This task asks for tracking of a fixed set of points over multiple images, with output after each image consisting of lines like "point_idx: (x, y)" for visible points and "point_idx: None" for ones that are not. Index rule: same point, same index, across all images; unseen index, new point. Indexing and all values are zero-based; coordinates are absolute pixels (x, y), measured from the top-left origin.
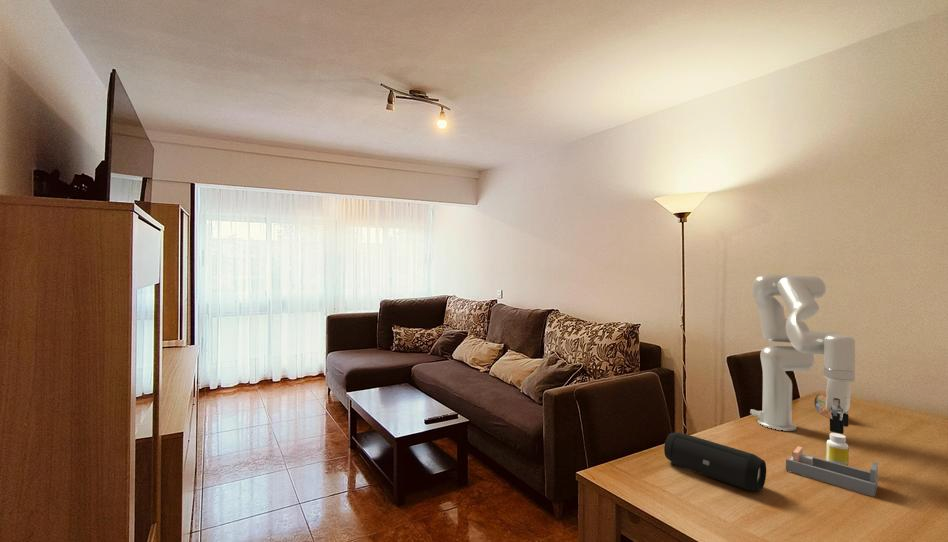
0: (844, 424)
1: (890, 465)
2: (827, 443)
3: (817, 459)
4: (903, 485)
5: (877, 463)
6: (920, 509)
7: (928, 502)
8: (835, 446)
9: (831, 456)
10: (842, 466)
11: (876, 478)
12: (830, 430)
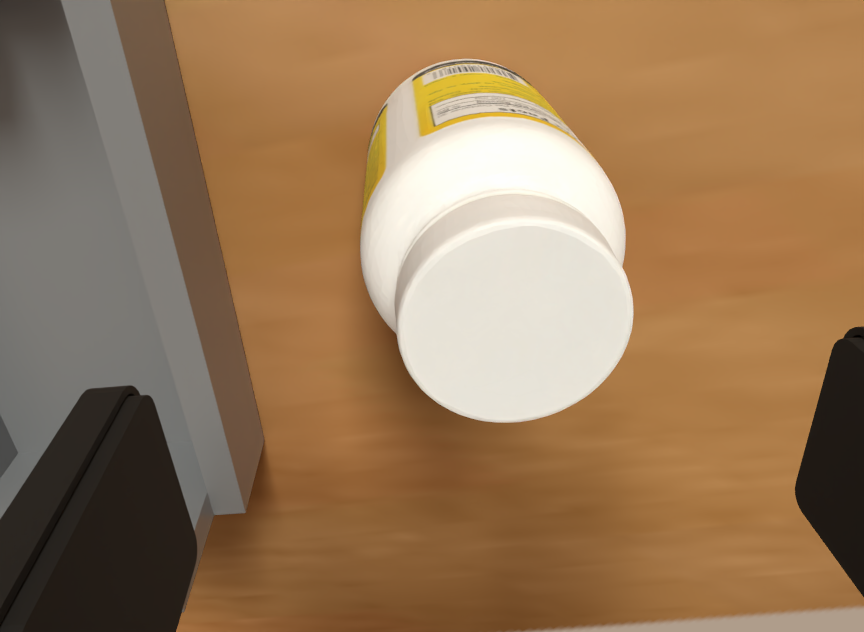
0: (824, 484)
1: None
2: (416, 148)
3: (81, 63)
4: (444, 524)
5: None
6: None
7: (272, 619)
8: (362, 257)
9: (369, 158)
10: (156, 297)
11: None
12: (85, 403)
